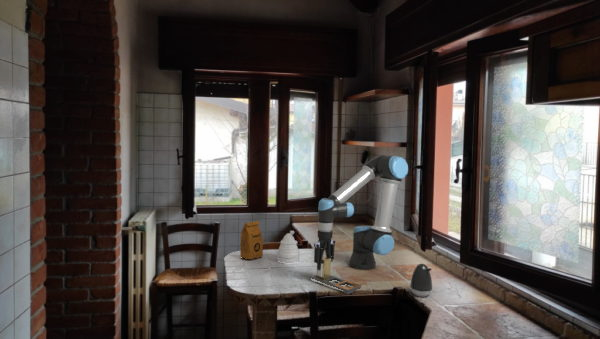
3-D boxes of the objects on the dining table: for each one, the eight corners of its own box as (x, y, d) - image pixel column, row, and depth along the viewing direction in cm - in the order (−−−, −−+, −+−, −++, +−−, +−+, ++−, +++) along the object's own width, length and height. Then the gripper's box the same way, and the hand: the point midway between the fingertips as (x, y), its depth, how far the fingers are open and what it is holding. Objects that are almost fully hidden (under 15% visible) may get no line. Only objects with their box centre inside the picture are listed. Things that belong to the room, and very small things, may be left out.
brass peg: (323, 278, 241) (324, 256, 240) (330, 281, 238) (331, 258, 237) (316, 280, 238) (317, 257, 237) (323, 283, 234) (324, 260, 233)
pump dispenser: (421, 300, 214) (423, 268, 213) (405, 293, 223) (406, 262, 222) (436, 296, 220) (438, 265, 219) (419, 289, 229) (421, 259, 227)
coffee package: (265, 258, 276) (265, 221, 274) (248, 261, 268) (249, 224, 266) (254, 254, 283) (255, 219, 281) (238, 258, 275) (238, 221, 273)
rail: (323, 276, 245) (324, 272, 244) (360, 289, 226) (360, 285, 226) (310, 280, 238) (310, 276, 238) (347, 294, 220) (347, 289, 219)
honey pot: (300, 258, 277) (300, 229, 275) (297, 265, 264) (298, 234, 263) (278, 257, 278) (279, 228, 277) (275, 263, 266) (276, 232, 264)
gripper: (331, 226, 244) (330, 269, 247) (307, 231, 232) (306, 276, 234) (342, 229, 239) (340, 273, 241) (318, 233, 227) (316, 280, 229)
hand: (323, 274), depth 238 cm, fingers closed on brass peg, 5 cm apart
